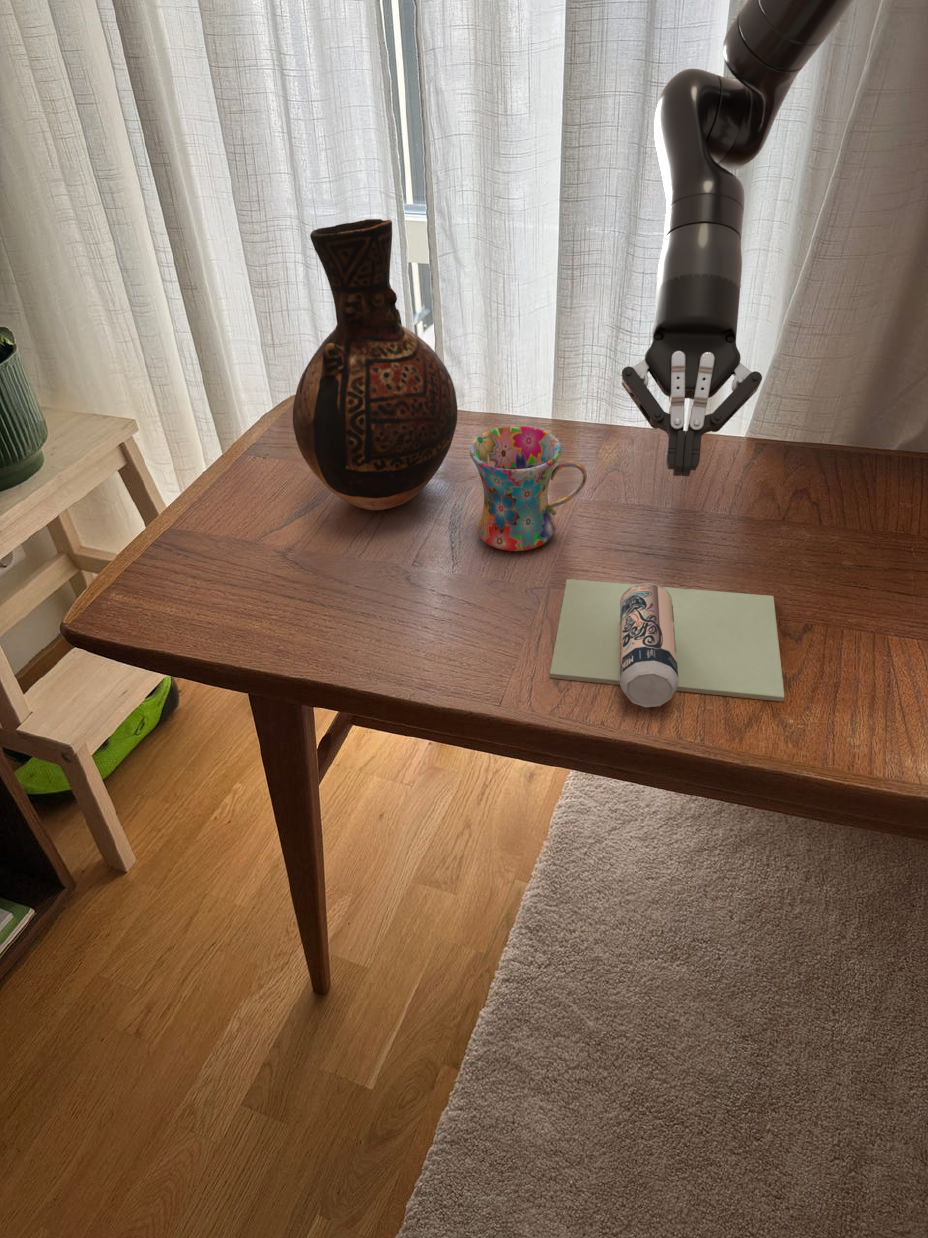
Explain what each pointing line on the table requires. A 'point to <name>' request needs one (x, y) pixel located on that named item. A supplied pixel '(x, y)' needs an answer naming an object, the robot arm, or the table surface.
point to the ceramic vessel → (371, 381)
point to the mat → (704, 633)
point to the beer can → (647, 645)
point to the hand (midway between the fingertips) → (682, 473)
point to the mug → (518, 486)
